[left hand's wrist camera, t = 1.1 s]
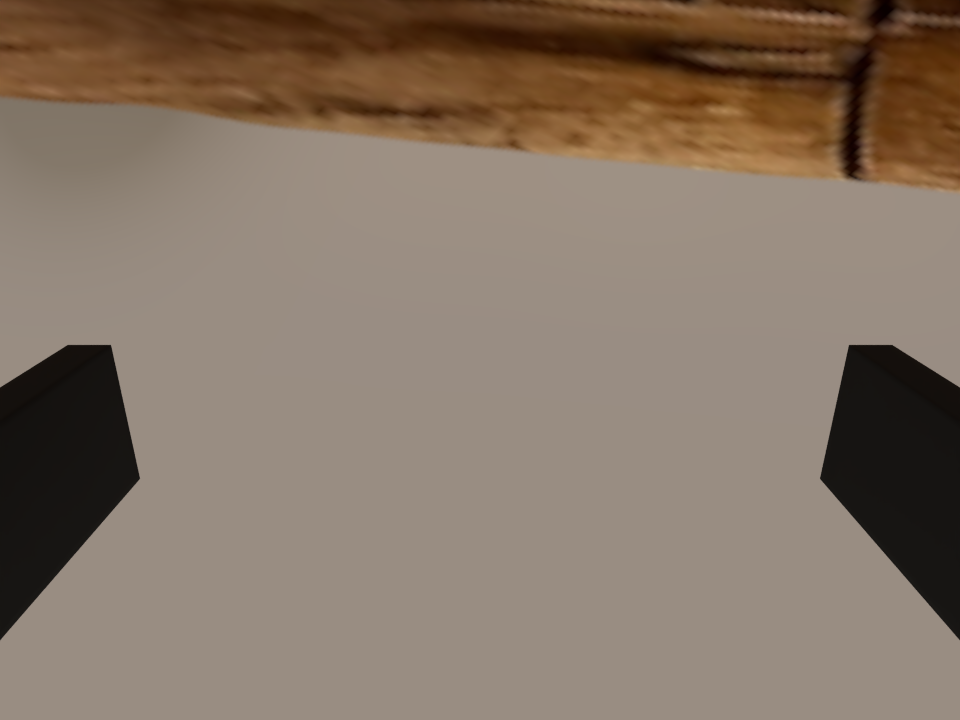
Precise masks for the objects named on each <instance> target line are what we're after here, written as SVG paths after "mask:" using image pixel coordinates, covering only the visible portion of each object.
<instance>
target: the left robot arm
mask: <svg viewBox="0 0 960 720" xmlns="http://www.w3.org/2000/svg"><path fill="white" fill-rule="evenodd" d="M139 479H140V477H139V472H138V467H137V463H136V458H135V454H134V449H133V444H132V440H131V435H130V431H129V426H128V422H127V417H126V412H125V408H124V403H123V398H122V394H121V389H120V385H119V380H118V375H117V371H116V366H115V362H114V357H113V352H112V348H111V345H67V346H66V347H64V348H62V349H61V350H59V351H58V352H56V353H54V354H53V355H51V356H50V357H48V358H47V359H45V360H43V361H42V362H40V363H39V364H37V365H35V366H34V367H32V368H31V369H29V370H27V371H26V372H24V373H23V374H21V375H19V376H18V377H16V378H15V379H13V380H11V381H10V382H8V383H7V384H5V385H3V386H2V387H0V640H1V639H2V637H3V636H4V635H5V634H6V633H7V632H8V630H9V629H10V628H11V627H12V626H13V625H14V623H15V622H16V621H17V620H18V619H19V618H20V617H21V615H22V614H23V613H24V612H25V611H26V610H27V609H28V607H29V606H30V605H31V604H32V603H33V602H34V600H35V599H36V598H37V597H38V596H39V595H40V593H41V592H42V591H43V590H44V589H45V588H46V587H47V585H48V584H49V583H50V582H51V581H52V580H53V579H54V577H55V576H56V575H57V574H58V573H59V572H60V570H61V569H62V568H63V567H64V566H65V565H66V564H67V562H68V561H69V560H70V559H71V558H72V557H73V555H74V554H75V553H76V552H77V551H78V550H79V548H80V547H81V546H82V545H83V544H84V543H85V542H86V540H87V539H88V538H89V537H90V536H91V535H92V533H93V532H94V531H95V530H96V529H97V528H98V527H99V525H100V524H101V523H102V522H103V521H104V520H105V518H106V517H107V516H108V515H109V514H110V513H111V512H112V510H113V509H114V508H115V507H116V506H117V505H118V503H119V502H120V501H121V500H122V499H123V498H124V497H125V495H126V494H127V493H128V492H129V491H130V490H131V488H132V487H133V486H134V485H135V484H136V483H137V482H138V480H139ZM820 479H821V480H822V482H823V483H824V484H825V485H826V486H827V487H828V488H829V490H830V491H831V492H832V493H833V494H834V495H835V497H836V498H837V499H838V500H839V501H840V502H841V503H842V505H843V506H844V507H845V508H846V509H847V510H848V512H849V513H850V514H851V515H852V516H853V517H854V518H855V520H856V521H857V522H858V523H859V524H860V525H861V527H862V528H863V529H864V530H865V531H866V532H867V534H868V535H869V536H870V537H871V538H872V539H873V540H874V542H875V543H876V544H877V545H878V546H879V547H880V548H881V550H882V551H883V552H884V553H885V554H886V555H887V557H888V558H889V559H890V560H891V561H892V562H893V564H894V565H895V566H896V567H897V568H898V569H899V570H900V572H901V573H902V574H903V575H904V576H905V577H906V579H907V580H908V581H909V582H910V583H911V584H912V585H913V587H914V588H915V589H916V590H917V591H918V592H919V594H920V595H921V596H922V597H923V598H924V599H925V600H926V602H927V603H928V604H929V605H930V606H931V607H932V608H933V610H934V611H935V612H936V613H937V614H938V615H939V617H940V618H941V619H942V620H943V621H944V622H945V623H946V625H947V626H948V627H949V628H950V629H951V630H952V632H953V633H954V634H955V635H956V636H957V637H958V638H959V640H960V387H958V386H957V385H955V384H953V383H952V382H950V381H949V380H947V379H945V378H944V377H942V376H941V375H939V374H937V373H936V372H934V371H933V370H931V369H929V368H928V367H926V366H925V365H923V364H922V363H920V362H918V361H917V360H915V359H914V358H912V357H910V356H909V355H907V354H906V353H904V352H902V351H901V350H899V349H898V348H896V347H894V346H893V345H849V348H848V352H847V357H846V362H845V366H844V371H843V375H842V380H841V385H840V389H839V394H838V398H837V403H836V408H835V412H834V417H833V421H832V426H831V431H830V435H829V440H828V445H827V449H826V454H825V458H824V463H823V467H822V472H821V477H820Z"/></svg>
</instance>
